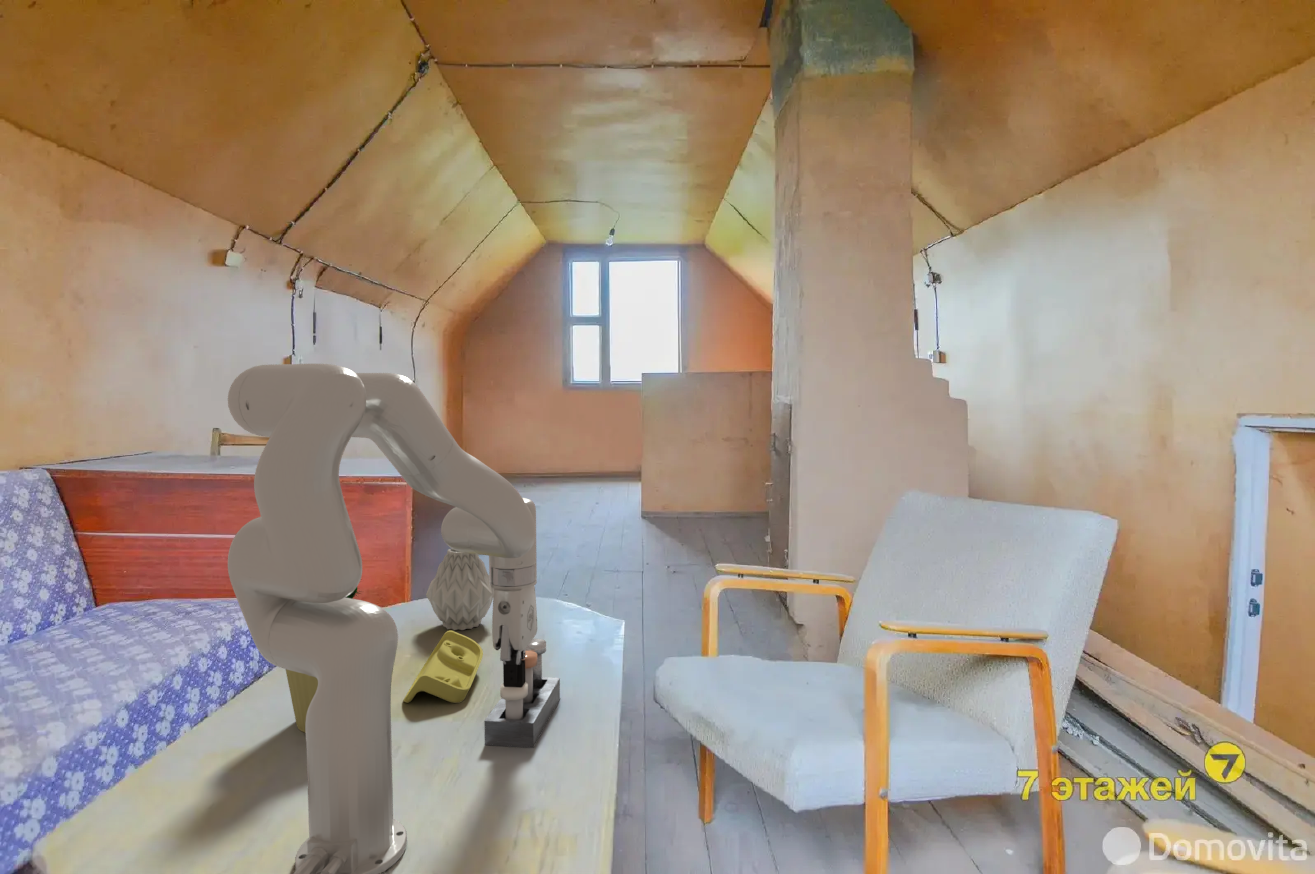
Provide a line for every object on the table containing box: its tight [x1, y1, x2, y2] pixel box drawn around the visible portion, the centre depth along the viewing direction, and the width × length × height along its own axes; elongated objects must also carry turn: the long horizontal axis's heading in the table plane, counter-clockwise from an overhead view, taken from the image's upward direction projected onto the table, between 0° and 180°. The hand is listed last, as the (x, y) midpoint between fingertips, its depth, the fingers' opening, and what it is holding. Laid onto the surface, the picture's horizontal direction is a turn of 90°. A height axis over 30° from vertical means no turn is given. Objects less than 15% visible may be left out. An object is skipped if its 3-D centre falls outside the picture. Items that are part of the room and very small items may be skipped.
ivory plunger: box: [499, 682, 528, 720], centre depth 118 cm, size 4×4×8 cm
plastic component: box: [402, 629, 484, 704], centre depth 140 cm, size 20×7×10 cm
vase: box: [425, 548, 494, 631], centre depth 173 cm, size 16×16×18 cm
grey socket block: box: [483, 676, 561, 749], centre depth 124 cm, size 18×8×4 cm, turn 174°
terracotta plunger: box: [522, 651, 537, 704], centre depth 124 cm, size 4×4×8 cm
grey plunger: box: [526, 638, 547, 689], centre depth 130 cm, size 4×4×8 cm
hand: (514, 684), depth 118 cm, fingers closed
